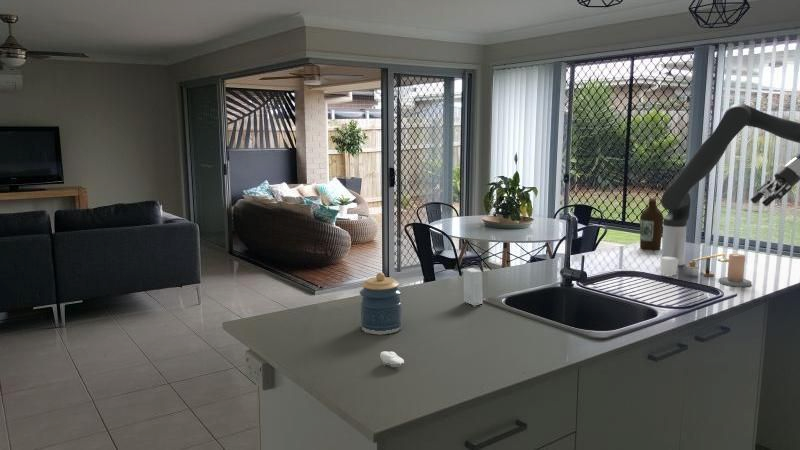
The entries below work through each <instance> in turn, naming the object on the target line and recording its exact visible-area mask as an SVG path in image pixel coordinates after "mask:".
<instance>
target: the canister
mask: <svg viewBox="0 0 800 450" xmlns="http://www.w3.org/2000/svg"><path fill="white" fill-rule="evenodd" d="M361 286H362V288H361V289H360V290H359V295H360V299H361V300H360V301H359V305H360V307H359V308H360V320H359V321H360V322H359V325H360V324H361V326H362V327H364V328H366V329H369V330H375V331H386V330H392V329H396V328H399V327H401V326H402V327H403V317H402V316H403V312H402V311H403V309H402V308H403V306H402V305H403V304H402V303H403V300H402V299H401V295H402V293H403V290H402V289H401V288H400V287H399V286H400V283H399V281H397V280H395V279H394V278H393V277H387V276H385V274H384V272H377V274H376V276H374V277H370V278H367V279H366V280H365V281H364V282H362V283H361ZM361 326H360V327H361Z"/></svg>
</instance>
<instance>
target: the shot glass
mask: <svg viewBox="0 0 800 450" xmlns="http://www.w3.org/2000/svg"><path fill="white" fill-rule="evenodd" d="M659 260H660V274H661V275H662V274H664V275H663V276H665V275H676V276H677V271H678V261H679V259H678V258H676V257H670V256H664V257H662V256H661V257H660V259H659Z"/></svg>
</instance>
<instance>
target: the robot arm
mask: <svg viewBox="0 0 800 450" xmlns="http://www.w3.org/2000/svg"><path fill="white" fill-rule="evenodd" d="M745 127H752V128H757V129H760V130H763V131H765V132H768V133H770V134H772V135H773V136H777V137H779V138H781V139H783V140H784V139H785V140H787V141H790V142H795V143H798V144H800V122H797V121H793V120H790V119H785V118H784V117H783V118H782V117H778V116H775V115H772V114H768V113H767V112H764V111H761V110H758V109H756V108H754V107H752V106H750V105H748V104H745V103H743V102H738V103H734V104H731V105H730V106H729V107H727V109H726V111H725V112H724V114H723V116H722V118H721V119H720V122H719V123H718V124H717V127H716V128H715V129H714V131H713V133H712V134H710V136H708V138H707V139H706V140H705V141H704V142H702V144H701V145H700V146H699V147H698V149H696V151H695V153H694V154H693V156H691V158H690V159H689V161H688V163H686V165H685V166H684V168H683V169H682V171H681V173H680V174H678V176H677V178H676V179H675V180H674V181H673V182H672V183H671V184H670V186H669V187H668V188H666V190H665V191H664V192H663V194H662V196H661V198H660V199H661V200H660V201H661V202H660V203H661V206H662V208H663V209H664V210H666V211H668V212H667V215H666V216H665V217H663V227H662V238H661V257H664V256H670V257H676V258H678V259H679V261H678V266H684V264H685V257H686V256H685V253H686V239H687V237H686V236H687V224H688V223H687V222H688V220H689V217H690V210H691V195H690V193H689V192H690V191H691V189H692V188H693V187H694V186H695V185H697V184H698V183H699V182H700V181H701V180H703V179H704V178H705V177H707V176H708V175H709V174H710V173H711V172H712V170H714V168H715V167H716V165H717V164H718V162H719V161H720V160H721V158H722V157H723V155H724V153H725V152H726V150H727V148H728V146H729V145H730V143H731V141H733V139H734V138H735V137H736V136H737V135H738V134H739V133H740V132H741V131H742V130H743V129H744V128H745ZM799 182H800V152H799V153H798V154H797V155H795V157H793V158H792V159H790V160H788V162H787V163H786V164H785V165H784V166H782V167H781V168H780V169H779V170H778V171H777V172H775V173H774V180H773V181H771V180H766V181H765V182H764V183H763V184H761V185H760V186H759V187H758V188H757V189H756V191H755V192H756V194H754V196H753V197H751V199H750V201H751V202H752V204H757V203H758V202H759V201H760V200H761V199H762V198H763V197H765V196H767V197H766V198H765V199H764V200H763V201H762V202H761V204H762V205H763V206H765V207H768V206H769V205H770V204H771V203H773V202H774V201H776V200H777V199H779V200H781V199H782V198H783V197H784V196H785V195H786V194H788V192H790V191H791V190H792V189H793V187H794V186H795V185H797V184H798V183H799Z"/></svg>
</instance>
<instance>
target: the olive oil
mask: <svg viewBox="0 0 800 450" xmlns="http://www.w3.org/2000/svg"><path fill="white" fill-rule="evenodd" d="M639 218H640V219H639V221H640V222H639V226H640V227H639V228H640V229H639V230H640V231H639V234H640V235H639V236H640V238H639V242H640V243H639V248H640V249H642V250H647V251H657V250H660V249H661V248H662V237H663V221H664V215H663V212H662V211H661V210H660V209H659V208H658V207H657V198H648V206H647V207H646V208H645V209H644V210H642V212H641V215H640V217H639Z"/></svg>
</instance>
